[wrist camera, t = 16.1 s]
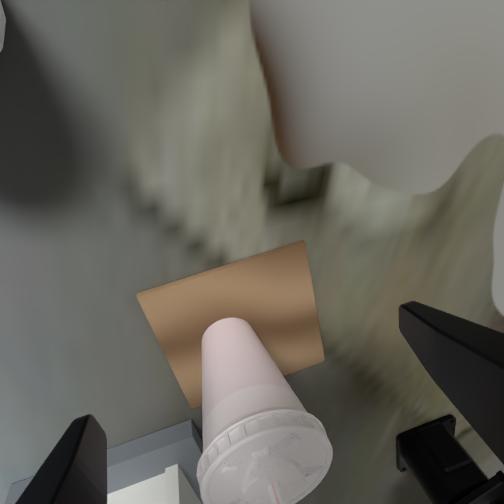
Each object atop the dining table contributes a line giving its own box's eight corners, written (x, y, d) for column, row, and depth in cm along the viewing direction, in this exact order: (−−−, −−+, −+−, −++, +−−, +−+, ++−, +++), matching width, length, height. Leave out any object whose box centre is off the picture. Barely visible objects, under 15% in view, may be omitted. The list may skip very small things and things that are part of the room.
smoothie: (198, 386, 25) (243, 671, 13) (167, 321, 22) (187, 614, 10) (279, 354, 26) (395, 595, 14) (260, 287, 23) (387, 519, 11)
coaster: (323, 357, 28) (325, 361, 27) (191, 404, 27) (191, 409, 26) (303, 240, 22) (305, 242, 22) (136, 293, 21) (136, 296, 21)
